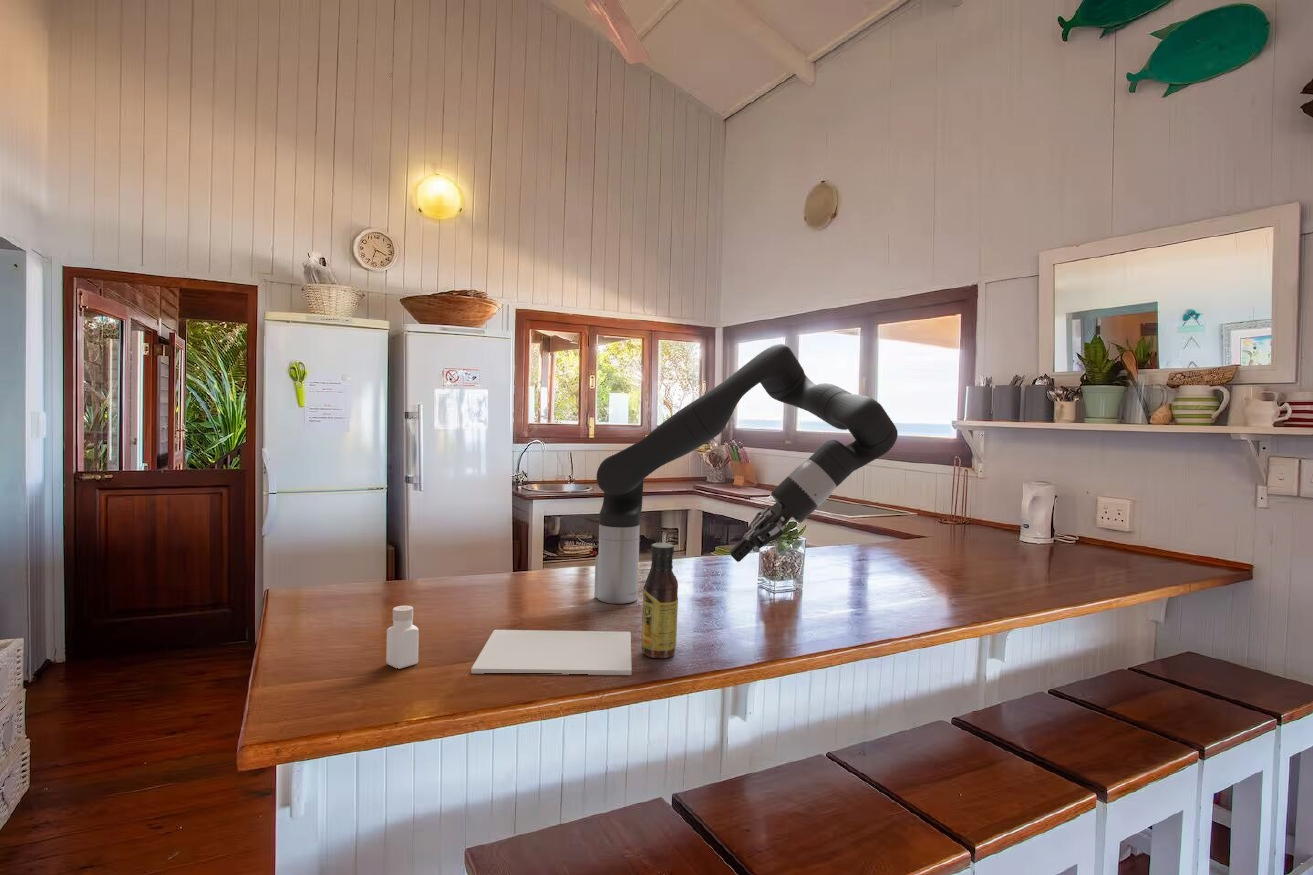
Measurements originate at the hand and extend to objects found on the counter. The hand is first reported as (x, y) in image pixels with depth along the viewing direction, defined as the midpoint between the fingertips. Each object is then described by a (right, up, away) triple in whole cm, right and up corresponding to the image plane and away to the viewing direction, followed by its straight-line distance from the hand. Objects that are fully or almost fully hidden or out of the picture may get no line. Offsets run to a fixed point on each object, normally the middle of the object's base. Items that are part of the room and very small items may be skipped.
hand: (733, 557), depth 125 cm
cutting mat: (-31, -17, 0) cm, 36 cm away
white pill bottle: (-56, -17, -8) cm, 59 cm away
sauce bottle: (-13, -18, 0) cm, 22 cm away
